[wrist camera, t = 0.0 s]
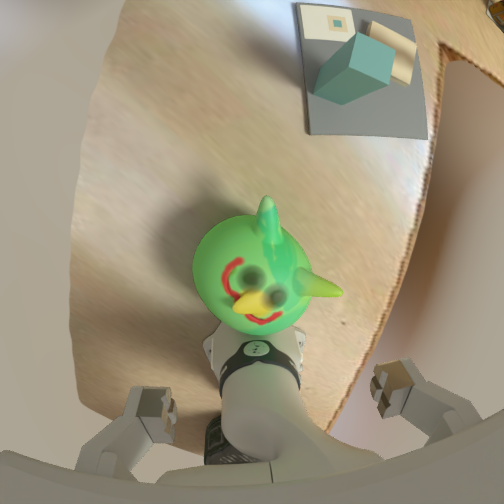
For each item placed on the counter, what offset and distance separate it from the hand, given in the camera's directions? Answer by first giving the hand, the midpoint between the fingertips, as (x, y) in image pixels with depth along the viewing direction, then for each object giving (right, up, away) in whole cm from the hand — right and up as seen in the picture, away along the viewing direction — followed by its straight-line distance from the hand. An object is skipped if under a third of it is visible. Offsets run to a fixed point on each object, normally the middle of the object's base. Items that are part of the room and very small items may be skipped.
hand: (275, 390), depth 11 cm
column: (+11, +31, +31) cm, 45 cm away
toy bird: (-1, +4, +39) cm, 40 cm away
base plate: (+18, +36, +31) cm, 51 cm away
